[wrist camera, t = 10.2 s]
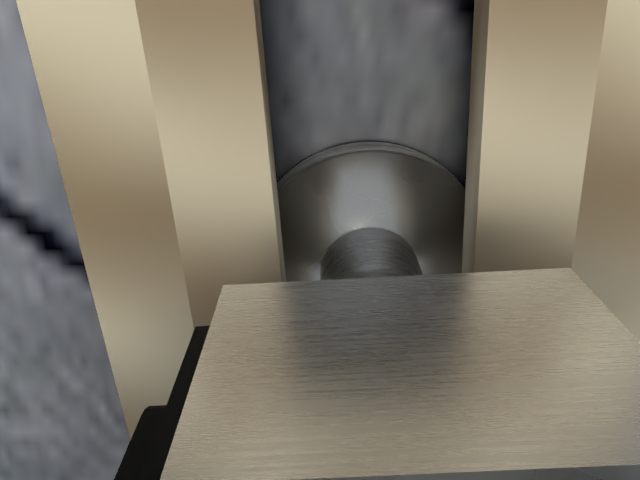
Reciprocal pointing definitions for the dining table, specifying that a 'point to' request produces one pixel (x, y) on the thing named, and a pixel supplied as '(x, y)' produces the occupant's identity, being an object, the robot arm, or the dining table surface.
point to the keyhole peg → (404, 348)
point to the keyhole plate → (259, 165)
